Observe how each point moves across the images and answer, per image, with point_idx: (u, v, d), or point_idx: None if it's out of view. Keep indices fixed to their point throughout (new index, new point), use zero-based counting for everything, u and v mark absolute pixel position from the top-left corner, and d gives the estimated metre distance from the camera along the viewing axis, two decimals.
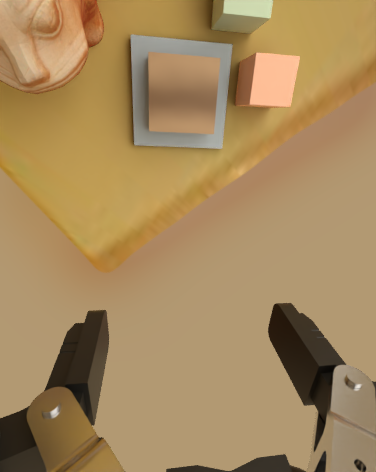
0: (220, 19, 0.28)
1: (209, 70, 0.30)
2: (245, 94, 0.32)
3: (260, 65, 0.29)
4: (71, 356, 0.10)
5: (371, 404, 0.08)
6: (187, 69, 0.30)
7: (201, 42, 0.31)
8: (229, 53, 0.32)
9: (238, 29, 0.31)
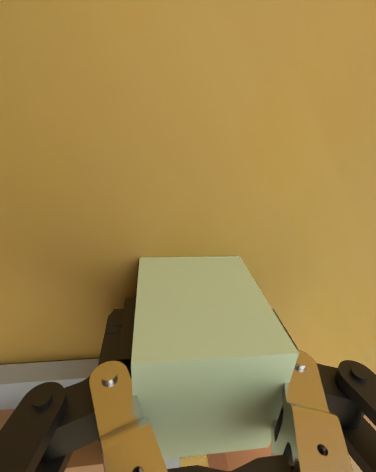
0: None
1: None
2: None
3: None
4: (116, 337, 0.11)
5: (311, 383, 0.09)
6: None
7: None
8: None
9: None
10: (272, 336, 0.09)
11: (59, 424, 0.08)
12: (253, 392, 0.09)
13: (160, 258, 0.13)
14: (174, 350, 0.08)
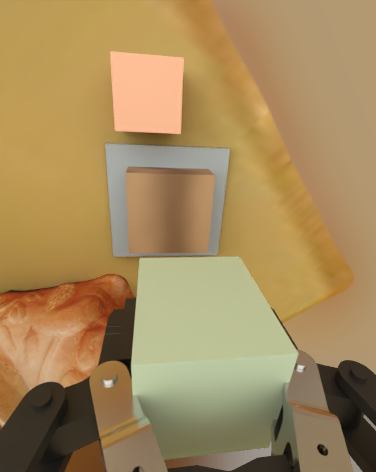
0: None
1: (140, 185, 0.24)
2: None
3: (129, 121, 0.20)
4: (116, 337, 0.11)
5: (311, 383, 0.09)
6: (142, 213, 0.25)
7: (109, 184, 0.26)
8: (115, 147, 0.25)
9: None
10: (272, 337, 0.09)
11: (59, 424, 0.08)
12: (253, 392, 0.09)
13: (160, 258, 0.13)
14: (174, 351, 0.08)
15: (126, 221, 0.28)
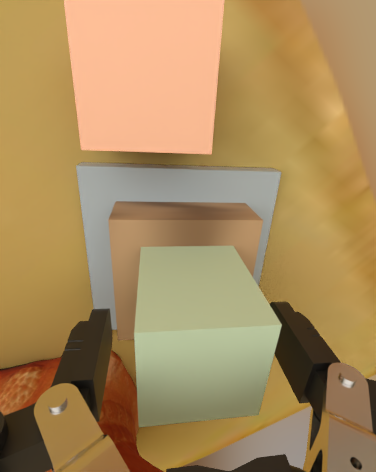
0: None
1: (134, 240, 0.14)
2: None
3: (110, 131, 0.10)
4: (76, 353, 0.10)
5: (364, 401, 0.08)
6: None
7: (85, 228, 0.16)
8: (93, 172, 0.15)
9: None
10: (259, 311, 0.10)
11: None
12: (242, 361, 0.10)
13: (160, 247, 0.14)
14: (172, 322, 0.09)
15: None
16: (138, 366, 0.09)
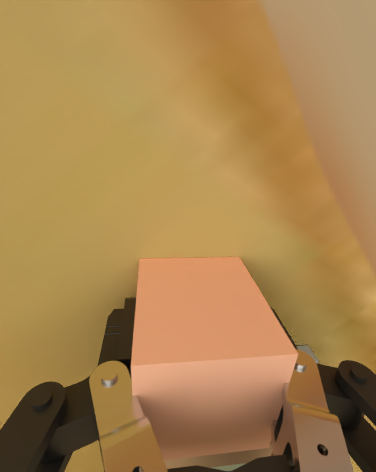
0: None
1: None
2: None
3: (167, 449, 0.09)
4: (116, 337, 0.11)
5: (311, 383, 0.09)
6: None
7: None
8: None
9: None
10: None
11: (59, 424, 0.08)
12: None
13: None
14: None
15: None
16: None
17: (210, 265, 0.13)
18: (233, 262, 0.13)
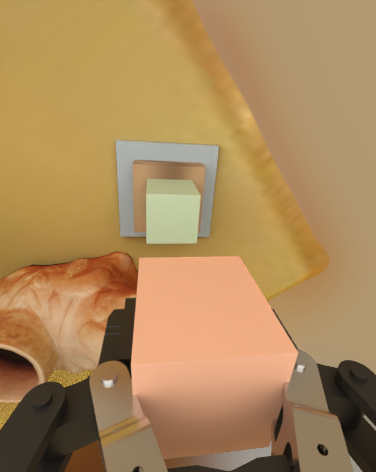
0: None
1: (144, 175, 0.29)
2: None
3: (167, 448, 0.09)
4: (116, 337, 0.11)
5: (311, 383, 0.09)
6: (145, 197, 0.30)
7: (118, 174, 0.32)
8: (124, 144, 0.30)
9: None
10: (193, 193, 0.25)
11: (59, 424, 0.08)
12: (187, 212, 0.25)
13: (156, 179, 0.29)
14: (159, 193, 0.24)
15: (132, 206, 0.33)
16: (147, 210, 0.24)
17: (210, 264, 0.13)
18: (233, 261, 0.13)
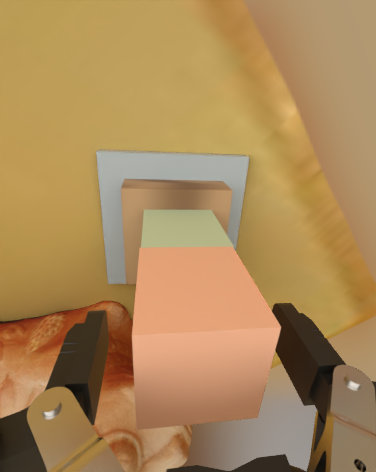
0: None
1: (139, 204, 0.19)
2: None
3: (164, 416, 0.10)
4: (71, 356, 0.10)
5: (371, 404, 0.08)
6: None
7: (102, 200, 0.21)
8: (108, 156, 0.20)
9: None
10: (221, 241, 0.15)
11: None
12: None
13: None
14: (164, 244, 0.14)
15: (123, 243, 0.23)
16: None
17: (205, 253, 0.13)
18: (227, 251, 0.14)
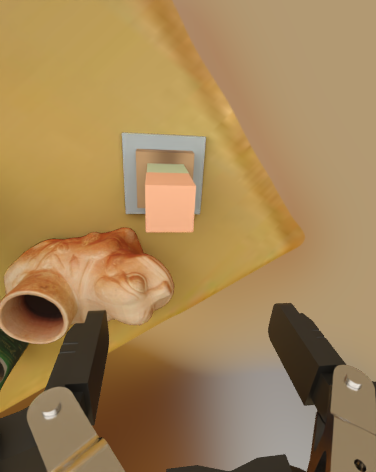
0: None
1: (145, 160, 0.36)
2: None
3: (156, 226, 0.27)
4: (71, 356, 0.10)
5: (371, 404, 0.08)
6: None
7: (124, 160, 0.39)
8: (128, 135, 0.37)
9: None
10: (183, 172, 0.32)
11: None
12: None
13: None
14: (157, 171, 0.31)
15: (135, 187, 0.40)
16: None
17: (175, 174, 0.31)
18: (185, 174, 0.31)
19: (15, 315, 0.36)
